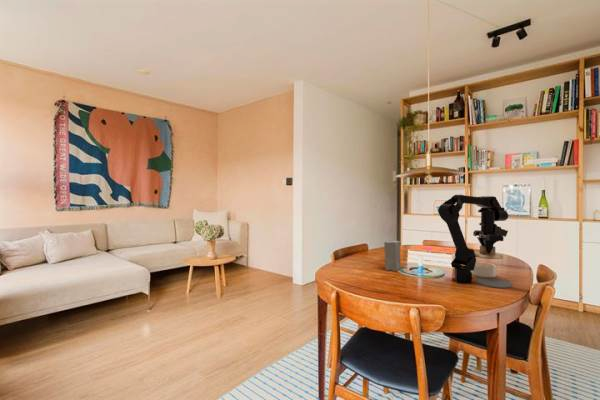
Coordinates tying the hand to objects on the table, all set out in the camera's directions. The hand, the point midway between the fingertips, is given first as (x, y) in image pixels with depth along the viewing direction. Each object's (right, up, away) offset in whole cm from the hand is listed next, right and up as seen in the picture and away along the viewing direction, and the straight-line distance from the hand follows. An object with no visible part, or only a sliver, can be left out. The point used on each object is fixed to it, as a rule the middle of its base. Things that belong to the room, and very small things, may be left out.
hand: (487, 252), depth 149 cm
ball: (+3, -10, +7) cm, 12 cm away
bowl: (+3, -13, +7) cm, 15 cm away
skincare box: (-41, -13, +20) cm, 48 cm away
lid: (0, -2, 0) cm, 2 cm away
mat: (-2, -13, -8) cm, 15 cm away
